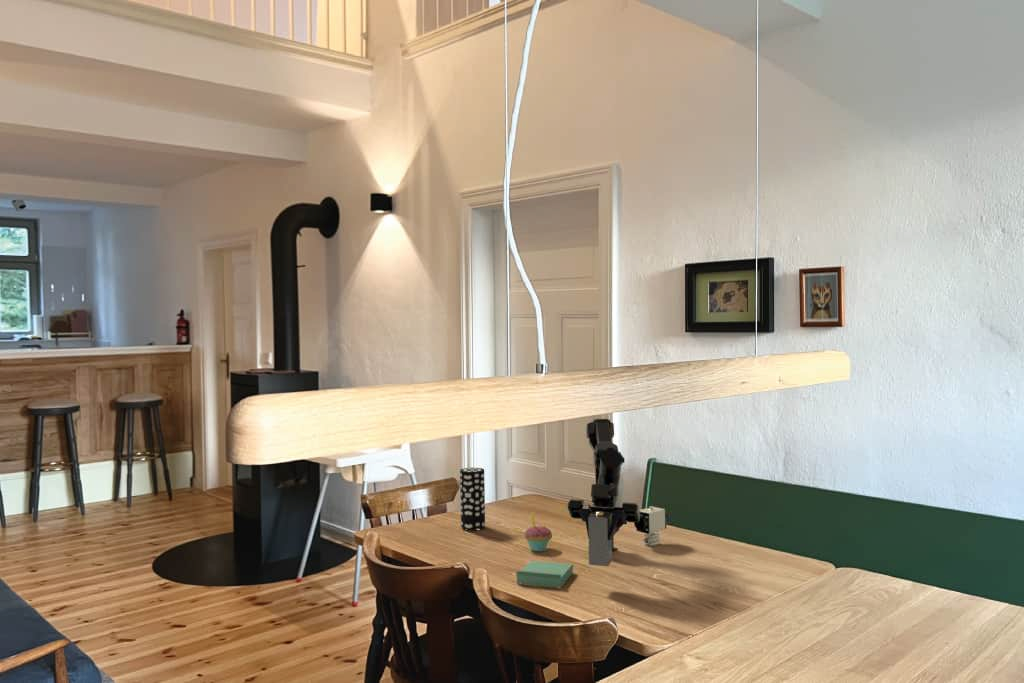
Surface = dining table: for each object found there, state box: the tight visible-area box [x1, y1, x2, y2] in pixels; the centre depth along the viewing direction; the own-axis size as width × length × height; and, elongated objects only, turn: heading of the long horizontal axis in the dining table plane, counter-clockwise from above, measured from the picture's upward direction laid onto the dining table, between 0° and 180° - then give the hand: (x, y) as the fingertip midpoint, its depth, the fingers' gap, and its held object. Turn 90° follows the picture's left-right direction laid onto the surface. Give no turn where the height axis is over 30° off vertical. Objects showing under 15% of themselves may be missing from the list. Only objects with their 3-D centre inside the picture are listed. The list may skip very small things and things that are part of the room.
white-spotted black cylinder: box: [459, 467, 486, 530], centre depth 265 cm, size 8×8×20 cm
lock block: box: [588, 511, 613, 567], centre depth 202 cm, size 5×5×13 cm
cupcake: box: [523, 511, 553, 552], centre depth 238 cm, size 9×8×12 cm
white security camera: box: [633, 505, 670, 547], centre depth 241 cm, size 6×12×12 cm, turn 130°
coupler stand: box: [516, 560, 574, 589], centre depth 210 cm, size 13×12×4 cm
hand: (599, 539), depth 201 cm, fingers closed on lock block, 5 cm apart
